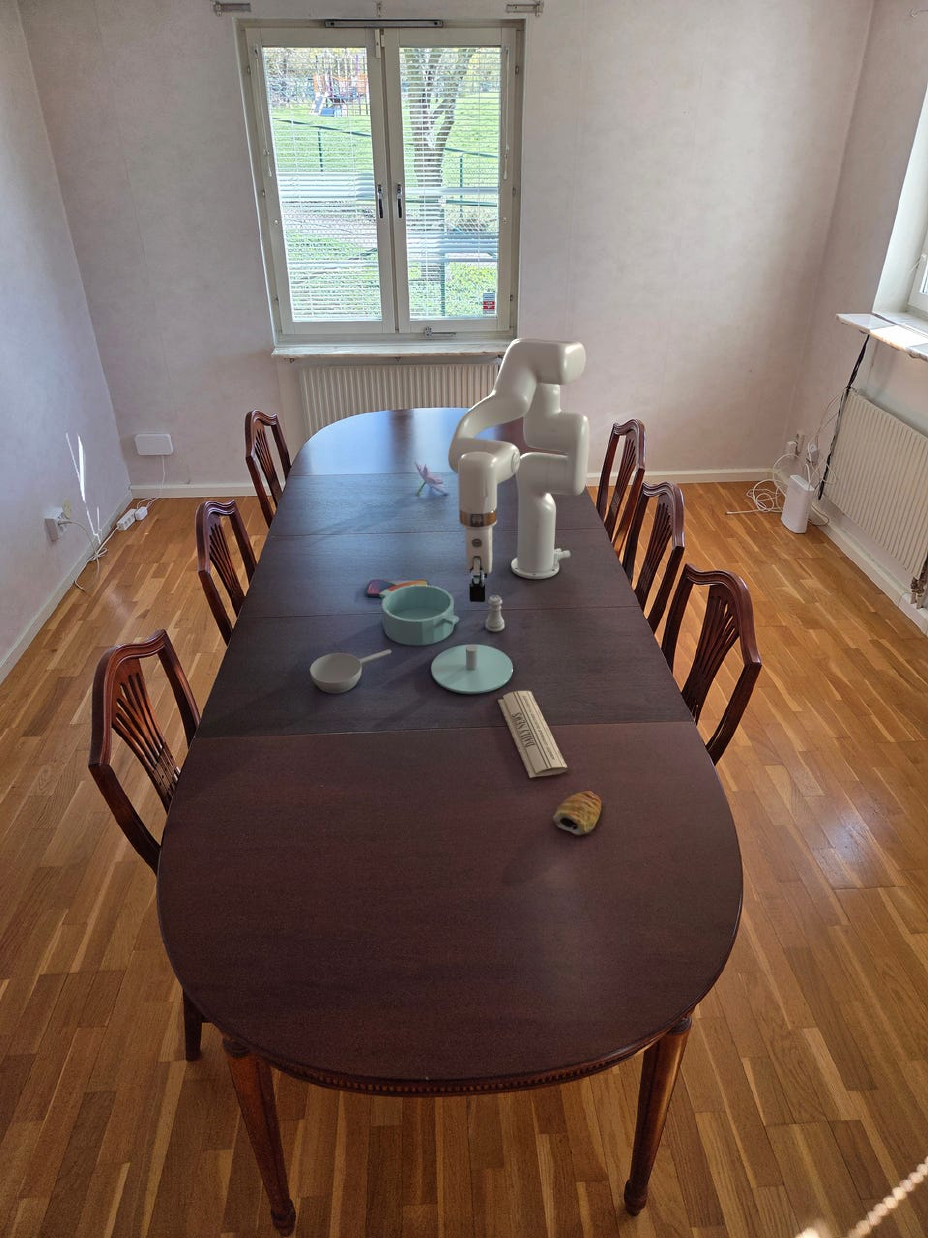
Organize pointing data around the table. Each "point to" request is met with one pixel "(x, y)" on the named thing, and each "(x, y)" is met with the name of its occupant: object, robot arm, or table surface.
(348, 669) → the saucepan
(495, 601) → the rook chess piece
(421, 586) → the pot
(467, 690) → the lid
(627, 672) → the table surface
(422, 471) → the water lily
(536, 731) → the newspaper
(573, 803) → the pastry
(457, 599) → the table surface
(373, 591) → the smartphone
